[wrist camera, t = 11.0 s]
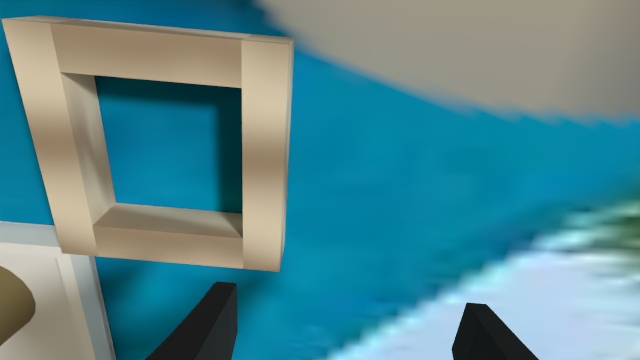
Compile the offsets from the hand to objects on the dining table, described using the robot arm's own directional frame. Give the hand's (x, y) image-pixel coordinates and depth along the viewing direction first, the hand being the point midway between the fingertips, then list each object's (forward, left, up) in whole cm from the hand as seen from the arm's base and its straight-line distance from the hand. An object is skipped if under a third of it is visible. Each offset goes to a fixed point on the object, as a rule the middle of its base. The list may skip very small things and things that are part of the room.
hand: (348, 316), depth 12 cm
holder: (+1, +9, -10) cm, 14 cm away
